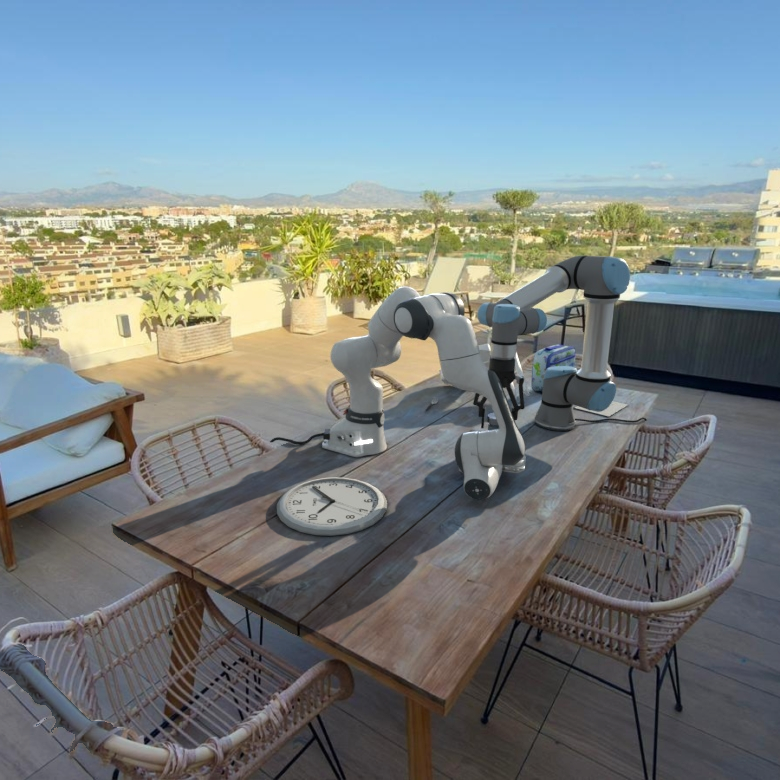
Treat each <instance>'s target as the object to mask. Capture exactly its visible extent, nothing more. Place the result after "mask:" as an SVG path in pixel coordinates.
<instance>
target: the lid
mask: <svg viewBox="0 0 780 780" xmlns="http://www.w3.org/2000/svg"><path fill="white" fill-rule="evenodd" d="M486 421H487V423H488V424H489V423H490V424H492V425H498V422H497V419H496V417H495V414H494V412H490V413H488V414H487V418H486ZM498 426H499V425H498Z"/></svg>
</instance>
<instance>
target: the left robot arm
mask: <svg viewBox="0 0 780 780" xmlns="http://www.w3.org/2000/svg"><path fill="white" fill-rule="evenodd" d="M465 312H466V311H465V304H464V303H463V300H462V299H461V297H460V296H459V295H457V294H455V293H451V292H439V293H429V294H425V295H420V293H419V292H418V291H417V290H416V289H414V288H413V287H410V286H400V287H398V288H396V289H395V290H393V292H391V293H390V294H389V295H388V296H387V297H386V298H385V299H384V301H383V302H382V303H381V304H380V305H379V306H378V308H377V309H376V311H375V312H374V314H373V315H372V316H371V317H370V319H369V320H368V323H367V330H368V334H366V335H362V336H354V337H348V338H344V339H342V340H340V341H337V342H335V343H333V345H332V347H331V350H330V356H329V357H330V361H331V364H332V366H333V367H334V369H336V371H337V372H339V373H341V374H342V375H343V376H344V378H345V380H346V382H347V385H348V389H349V405H348V407H346V408H345V410H343V415H345V416H344V417H343V418H341V419H340V420H339V421H337V422H336V423H334V424H333V425H332V426H331V428H325V429H324V431H323V432H319V433H316V434H313V435H311V436H309V438H308V439H306V440H304V441H299V440H298V441H297V440H293V439H290V438H285V437H281V436H276V437H273V438H272V439H271V440H270V441H269V443H274V442H275V441H282V442H287V443H291V444H293V445H307V444H308V443H310V442H311V441H312V440H313V439H315V438H319V437H323V438H322V439H323V441H322V443H321V448H322V449H325V450H328V451H332V452H336V453H338V454H343V455H345V456H348V457H349V456H350V457H353V458H361V457H364V456H372V455H377V454H381V453H382V452H384V451H386V450H387V448H388V445H387V444H388V443H387V441H386V437H385V429H384V424H385V408H384V387H383V386H382V384H381V383H380V382H379V381H378V380H376V379H374V378H373V377H372V374H371V370H372V369H378V368H383V367H386V366H389V365H392V364H393V363H396V362H397V361H398V360H399V359H400V357H401V355H402V345H401V342H400V340H401V339H402V338H403V337H406V338H410V339H416V340H421V341H427V339H428V338H430V339H432V341H434V343H435V345H436V348H437V353H438V360H439V366H440V370H442V374H443V376H444V378H445V380H446V381H447V382H448V383H449V384H450V386H452V387H454V388H456V389H459V390H463V391H467V392H471V393H474V394H476V393H478V394H480V395H479V396H482V397H483V396H484V397H486V398H487V401H488V402H489V403H490V406H491V408H492V411H493V413H494V414H495V417H496V419H497V422H498V425H499V429H495V430H488V429H486V430H475V431H474V430H473V431H466V432H465V431H464V432H462V433H461V434H460V435H459V437H458V438H457V441H456V443H455V445H454V446H455V447H454V457H455V462H456V466H457V467H458V471H459V472H460V473H462V474H463V491H464V492H465V493H464V494H466V495H467V497H469V498H471V499H473V500H474V501H475V500H476V501H484V500H487V499H489V498H490V497H491V496H492V495H493V493H494V492H495V490H496V488H497V486H498V484H499V480H500V478H501V476H502V473H503V472H506V473H512V474H519V473H521V472H524V471H525V469H526V461H527V455H526V445H525V441H524V438H523V436H522V434H521V432H520V429H519V427H518V425H517V423H516V420H514V417H513V415H512V412H511V411H512V408H511V406H510V404H509V401H508V398H507V395H506V392H505V390H504V388H502V385H501V383H500V380H499V378H498V376H497V375H496V373H495V372H494V371H492V370H489V369H488V368H487V367H486V366H485V364H484V363H483V361H482V359H481V356H480V353H479V352H480V351H479V346H478V345H479V343H478V340H477V335H476V332H475V329H474V326H473V323H472V322H471V320H470V319H469V317H467V316H465V314H466V313H465Z"/></svg>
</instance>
